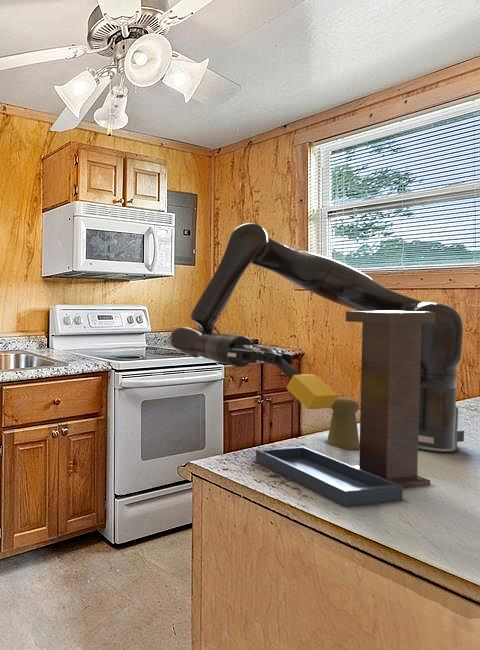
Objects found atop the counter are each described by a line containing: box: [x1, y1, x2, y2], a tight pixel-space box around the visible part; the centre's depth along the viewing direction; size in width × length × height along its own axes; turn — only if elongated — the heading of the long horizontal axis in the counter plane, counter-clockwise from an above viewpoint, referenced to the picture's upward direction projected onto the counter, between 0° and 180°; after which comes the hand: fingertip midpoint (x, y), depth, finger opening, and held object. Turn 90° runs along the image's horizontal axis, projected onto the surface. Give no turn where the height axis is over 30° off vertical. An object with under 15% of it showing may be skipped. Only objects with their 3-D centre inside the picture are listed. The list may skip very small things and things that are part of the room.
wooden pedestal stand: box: [345, 310, 435, 489], centre depth 81 cm, size 10×8×32 cm
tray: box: [255, 445, 404, 507], centre depth 81 cm, size 12×20×2 cm, turn 10°
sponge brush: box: [265, 349, 340, 410], centre depth 87 cm, size 5×16×4 cm
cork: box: [326, 396, 360, 450], centre depth 100 cm, size 6×6×11 cm
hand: (286, 359), depth 89 cm, fingers closed on sponge brush, 2 cm apart
